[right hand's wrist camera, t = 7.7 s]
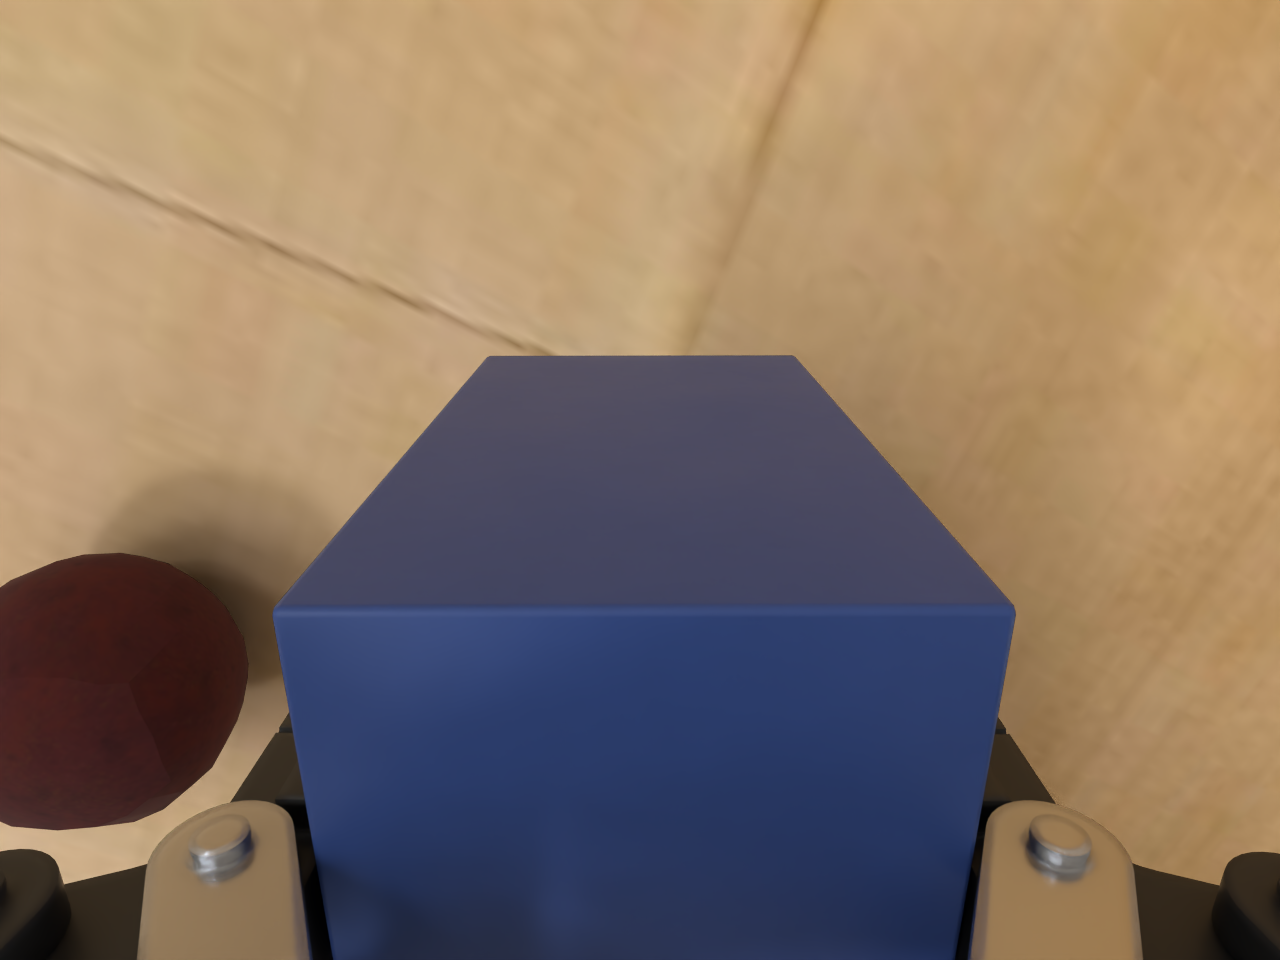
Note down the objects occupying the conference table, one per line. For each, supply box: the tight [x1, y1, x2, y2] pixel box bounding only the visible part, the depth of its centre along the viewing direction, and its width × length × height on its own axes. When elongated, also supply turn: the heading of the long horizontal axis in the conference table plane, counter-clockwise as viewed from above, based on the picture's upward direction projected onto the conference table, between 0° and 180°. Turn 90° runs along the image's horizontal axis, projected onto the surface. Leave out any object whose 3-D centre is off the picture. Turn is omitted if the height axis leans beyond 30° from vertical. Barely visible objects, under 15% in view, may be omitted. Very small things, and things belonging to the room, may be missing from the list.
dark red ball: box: [0, 553, 248, 830], centre depth 23 cm, size 7×8×7 cm
